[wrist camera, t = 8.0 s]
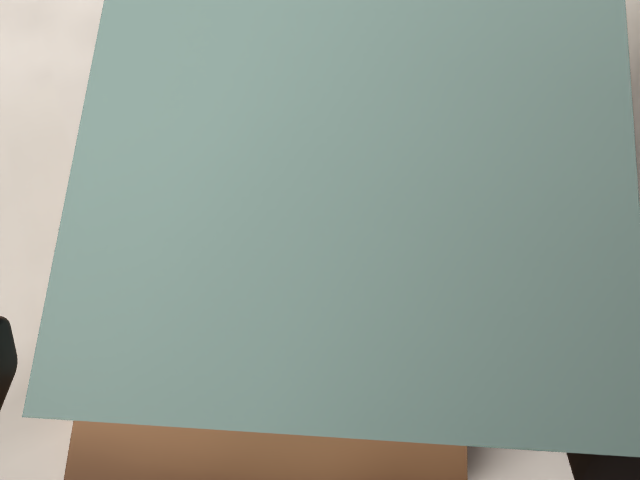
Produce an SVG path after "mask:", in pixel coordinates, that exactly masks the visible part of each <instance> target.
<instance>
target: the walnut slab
mask: <svg viewBox="0 0 640 480" xmlns="http://www.w3.org/2000/svg"><path fill="white" fill-rule="evenodd" d="M64 480H467V446H459V445H443V444H428V443H413V442H397V441H382V440H367V439H351V438H336V437H320V436H305V435H290V434H274V433H259V432H243V431H228V430H213V429H197V428H182V427H166V426H151V425H136V424H120V423H105V422H89V421H73V427H72V433H71V439H70V445H69V451H68V457H67V463H66V469H65V475H64Z"/></svg>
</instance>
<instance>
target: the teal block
mask: <svg viewBox="0 0 640 480" xmlns="http://www.w3.org/2000/svg"><path fill="white" fill-rule="evenodd" d="M22 417H28V418H43V419H59V420H74V421H89V422H105V423H120V424H136V425H151V426H166V427H182V428H197V429H213V430H228V431H243V432H259V433H274V434H290V435H305V436H320V437H336V438H351V439H367V440H382V441H397V442H413V443H428V444H443V445H459V446H474V447H490V448H505V449H520V450H536V451H551V452H567V453H582V454H597V455H613V456H628V457H640V207H639V193H638V178H637V164H636V150H635V135H634V121H633V106H632V92H631V78H630V63H629V49H628V34H627V20H626V5H625V0H104V4H103V9H102V14H101V19H100V24H99V30H98V35H97V40H96V45H95V50H94V55H93V60H92V65H91V70H90V75H89V80H88V85H87V90H86V95H85V101H84V106H83V111H82V116H81V121H80V126H79V131H78V136H77V141H76V146H75V151H74V156H73V161H72V166H71V172H70V177H69V182H68V187H67V192H66V197H65V202H64V207H63V212H62V217H61V222H60V227H59V232H58V237H57V243H56V248H55V253H54V258H53V263H52V268H51V273H50V278H49V283H48V288H47V293H46V298H45V303H44V308H43V314H42V319H41V324H40V329H39V334H38V339H37V344H36V349H35V354H34V359H33V364H32V369H31V374H30V379H29V385H28V390H27V395H26V400H25V405H24V410H23V415H22Z"/></svg>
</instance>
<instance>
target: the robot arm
mask: <svg viewBox="0 0 640 480" xmlns="http://www.w3.org/2000/svg"><path fill="white" fill-rule="evenodd" d="M16 368H17V353H16V348H15V344H14V339H13V335H12V330H11V326H10V323H9V321H8V320H7V319H6V318H5V317H2V316H0V410H1V407H2V405H3V402H4V400H5V397H6V395H7V392H8V390H9V387H10V385H11V382H12V380H13V378H14V375H15V372H16ZM567 456H568V459H569V463H570V466H571V470H572V473H573V476H574V479H575V480H640V457H628V456H613V455H597V454H582V453H567Z"/></svg>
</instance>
